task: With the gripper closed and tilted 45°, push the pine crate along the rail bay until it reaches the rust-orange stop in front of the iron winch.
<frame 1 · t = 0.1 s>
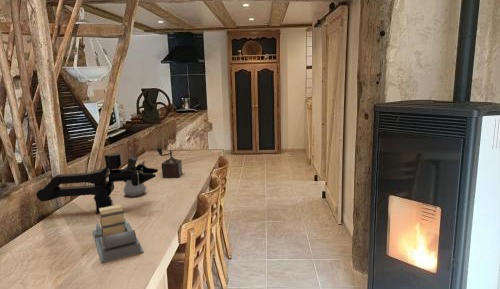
hand: (156, 172, 167), 17 cm above the table, tool horizontal, fingers open, 9 cm apart
manual coffee grinder: (169, 176, 223), on the table
crate: (112, 220, 140), point 6 cm above the table, slide at 0.0 cm
bay: (115, 238, 138), on the table
coffee pot: (139, 191, 194), on the table
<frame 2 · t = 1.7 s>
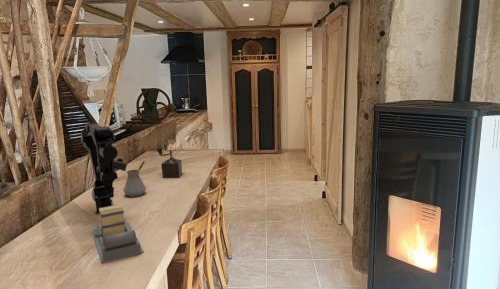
hand: (108, 191, 154), 13 cm above the table, tool pointing down, fingers open, 6 cm apart
nothing on the table moved.
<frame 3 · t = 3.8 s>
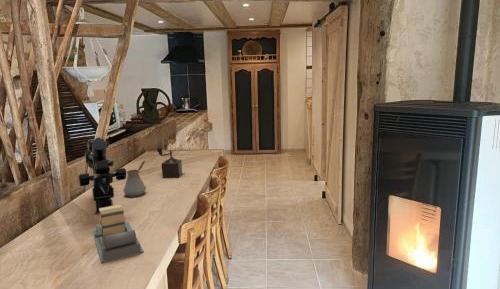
hand: (106, 193, 149), 14 cm above the table, tool tilted 45°, fingers closed
nothing on the table moved.
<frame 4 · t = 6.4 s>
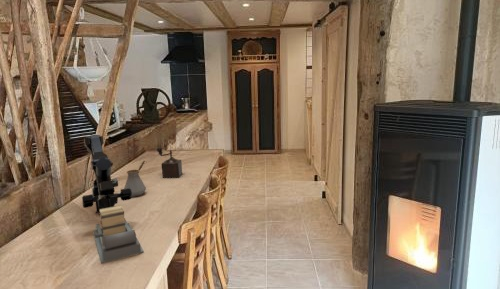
hand: (111, 216, 142), 7 cm above the table, tool tilted 45°, fingers closed, pressing on crate
crate: (112, 221, 139), point 6 cm above the table, slide at 1.2 cm, touching gripper
everything else where it was.
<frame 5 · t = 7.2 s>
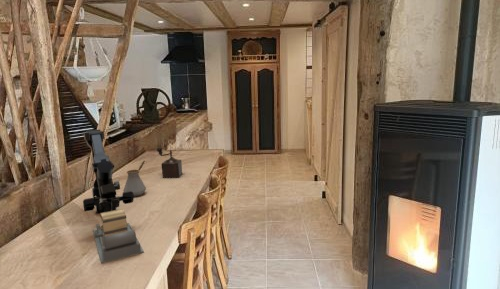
hand: (112, 220, 138), 7 cm above the table, tool tilted 45°, fingers closed, pressing on crate
crate: (114, 226, 135), point 6 cm above the table, slide at 5.9 cm, touching gripper
everything else where it was.
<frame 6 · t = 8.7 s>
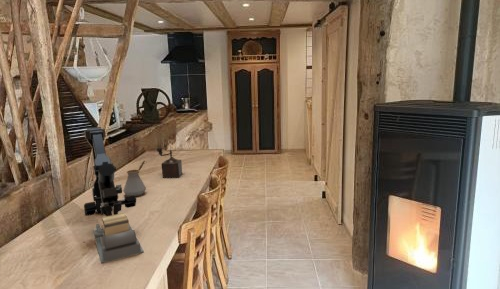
hand: (114, 224, 134), 7 cm above the table, tool tilted 45°, fingers closed, pressing on crate
crate: (116, 230, 131), point 6 cm above the table, slide at 10.7 cm, touching gripper
everything else where it was.
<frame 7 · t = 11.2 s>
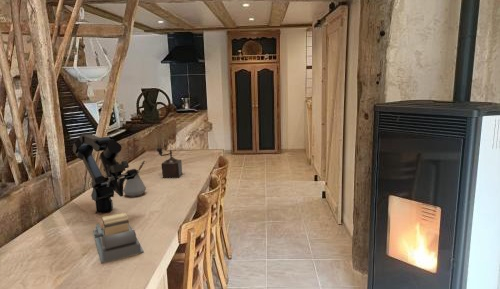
hand: (121, 196, 150), 12 cm above the table, tool tilted 35°, fingers closed
crate: (116, 230, 131), point 6 cm above the table, slide at 10.7 cm
everything else where it was.
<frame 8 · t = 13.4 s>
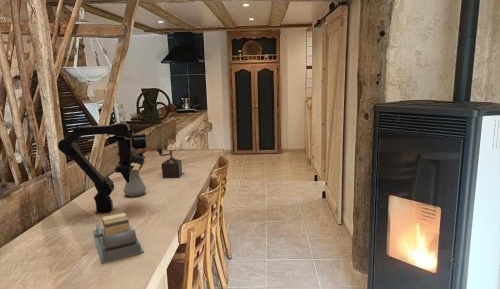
hand: (128, 182, 166), 13 cm above the table, tool pointing down, fingers closed
nothing on the table moved.
at the end: crate slide at 10.7 cm; crate moved 10.7 cm from its start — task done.
